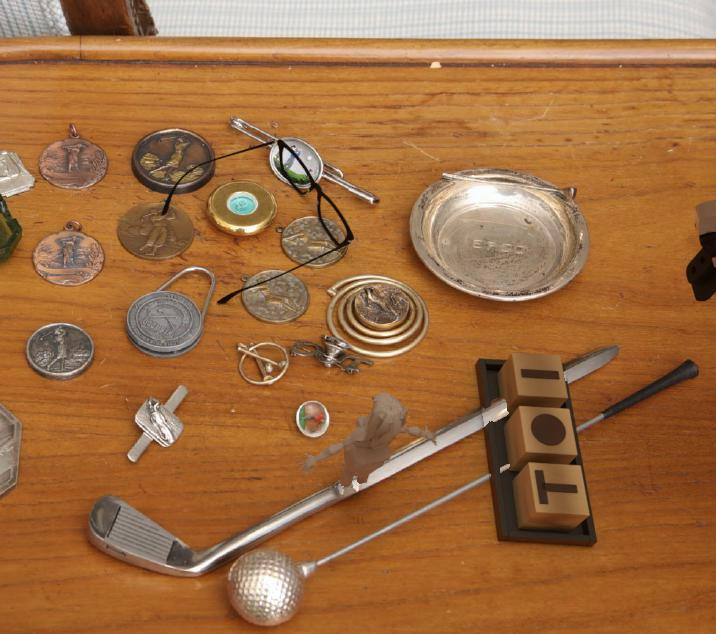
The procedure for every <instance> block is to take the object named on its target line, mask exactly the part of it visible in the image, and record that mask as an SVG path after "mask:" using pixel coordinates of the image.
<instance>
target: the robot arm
mask: <svg viewBox="0 0 716 634" xmlns="http://www.w3.org/2000/svg"><path fill="white" fill-rule="evenodd" d="M694 222H695V223H694V227H695V231H696V234H697V237H698V240H699V245H700V247H701V249H699V251H698V252H697V253H696V254H695V255H694V257H693V258H692V259H691V260H690V261H689V263H688V264H687V266H686V268H685V276H686V280H687V283H688V284H690V285H691V288H692V292H693V295H694V299H695V301H697V302H707V301H709V300H710V299H711V298H712V297H713V296H714V295H715V294H716V199H711V200H707V201H703V202H700V203H697V204H696V205H695V207H694Z"/></svg>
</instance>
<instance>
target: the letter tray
mask: <svg viewBox="0 0 716 634" xmlns="http://www.w3.org/2000/svg"><path fill="white" fill-rule="evenodd" d="M506 360H507V359H500V358H498V359H497V358H482V357H481V358H480V357H479V358H478V360H476V363H475V364H474V366H475V374H476V383H477V390H478V399H479V405H480V407H481V406H482V407H484V408H485V409H486V408H488V407H490V406H491V401H492V400H494V399H496V398H499V397H500V393H499V386H498V379H497V374H498V372H499V371H500V369H501V368H502V366H503V365H504V363H505V362H506ZM562 367H563V372H564V371H566V365H565V363H564V362H562ZM565 384H566V389H567V395H568V399H567V400H566V401H565V402H564V403H563V405H562V406H561V407H560V408H563V409H569V411H570V416H571V422H572V427H573V432H574V438H575V443H576V449H577V454H578V455H577V456H576V457H575V458H574V459H573V460H572V461H571V462H570V463H569V464H568V465H579V466H581V471H582V476H583V482H584V487H585V492H586V498H587V503H588V509H589V514H590V515H589V516H588V517H587V518H586V519H585V520H583V521H582V522H581V523H580V524H579V525H577V526H576V527H575V528H574V529H573V530H572V531H570V532H557V531H541V530H525V529H518V522H517V515H516V508H515V501H514V494H513V487H512V481H513V479H514V478H515V477H516V476H517V475H518V474H519V473H520V472H516V471H509V469H507V470H505V471H503V472H502V473H500V467H502V466H504V465H506V464H508V457H507V450H506V443H505V435H504V428H503V426H504V425H505V424H506V422H507V421H508V420H509V419H510V417H508V416H506V417H504V418H502V419H500V420H498V421H497V422H493V421H491V422H490V421H489V423H488V424H487V425H486V426H485V427H484V428H483V427H482V429H483V437H484V444H485V451H486V459H487V468H488V469H487V470H488V474H489V473H490V474H491V478H490V477H489V481H490V482H489V483H490V492H491V499H492V506H493V515H494V522H495V531H496V537H497V541H498V542H511V543H512V542H513V543H526V544H541V545H543V544H544V545H558V546H559V545H560V546H575V547H587V548H588V547H589V548H591V547H593V546H595V545H596V544H597V543H598V537H597V532H596V527H595V521H594V517H593V512H592V505H591V500H590V495H589V490H588V484H587V478H586V472H585V468H584V462H583V458H582V452H581V447H580V446H581V445H580V440H579V434H578V430H577V425H576V419H575V413H574V409H573V404H572V398H571V392H570V388H569V382H568V380H567V381H565Z"/></svg>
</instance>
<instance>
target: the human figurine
mask: <svg viewBox="0 0 716 634" xmlns="http://www.w3.org/2000/svg"><path fill="white" fill-rule="evenodd" d="M371 401H372V403H373V405H372V409H371V411H370V413H369V414H368V416H366V415H359V416H358V417H357V418H356V420H355V422H354V423H355V425H356V427H355V429H354V430H353V431H352V432H350V434H349V435H348V436H346V437H344V439H343V440H342V441H341V442H337V443H334V444H330V445H328V446H327V447H325V448H323V450H322V451H320V452H319V453H318V454H316V455H315V456H313V455H311V454H309V453H307V452H305V453H304V456H306V459H305V461H303V462H299V463H298V466H301V467H299V468H298V470H299V471H302V470H303V471H302V474H305V476H308V475H309V472H310V471H311V469H313V467H314V466H315V465H316V464H317V463H318V462H321V461H324V460H327V459H330V458H332V457H333V456H336V455H338V454H339V453H340V452H341V451H342V450H343V461H344V465H343V466H342V471H341V472H342V474H341V475H340V478H339V483H340V484H341V486H344V487H345V488H349V487H352V484H351V483H352V480H353V479H354V478H357V482H358V483H359V484H361V485H362V484H367V483H368V479H369V476H370V475H371V474H372V473H374V472H375V471H376V470H378V469H379V468H382V467H383V466H384V464H385V462H388V461H390V460H391V457H392V455H391V454H392V453H391V446H390V445H391V444H392V442H393V441H394V440H396V439H397V437H398V436H399V435H400V434H402V435H405V434H408V435H410V437H413V438H426V439H427V440H429V441H431V442H432V443H433V445H434V446H438V444H437V443H438V441H437V437H436V436H434V435H435V432H431V431H430V430H429V429H428V425H425V426H424V430H423V429H420V428H419V427H418V426H415V425H414V426H408V425H407V424H406V423H407V415H408V413H409V409H408V408H405V405H404V404H403V403H401V402H400V401H399V399H398V398H397V397H395V396H394V395H391V393H389V392H387V391H382V392H379V393H377V394H375V395H374V396H372V397H371Z"/></svg>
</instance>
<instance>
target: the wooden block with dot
mask: <svg viewBox="0 0 716 634" xmlns="http://www.w3.org/2000/svg"><path fill="white" fill-rule="evenodd" d="M503 428H504V435H505V443H506V450H507V457H508V464H510V467H509V471H516V472H521V470H522V469H523V468H524V467H525V466H526V465H527V464H528V463H529V462H530V463H547V464H563V465H568V464H569V463H570V462H571V461H572V460H573V459H574V458H575V457H576V456H577V455H578V454H577V449H576V443H575V438H574V432H573V427H572V422H571V416H570V411H569V409H563V408H546V407H530V406H519V407H518V408H517V409H516V411H515V412H514V413H513V415H512V416H511V417H510V419H509V420H508V421H507V422H506V424H505V425H504V426H503Z"/></svg>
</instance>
